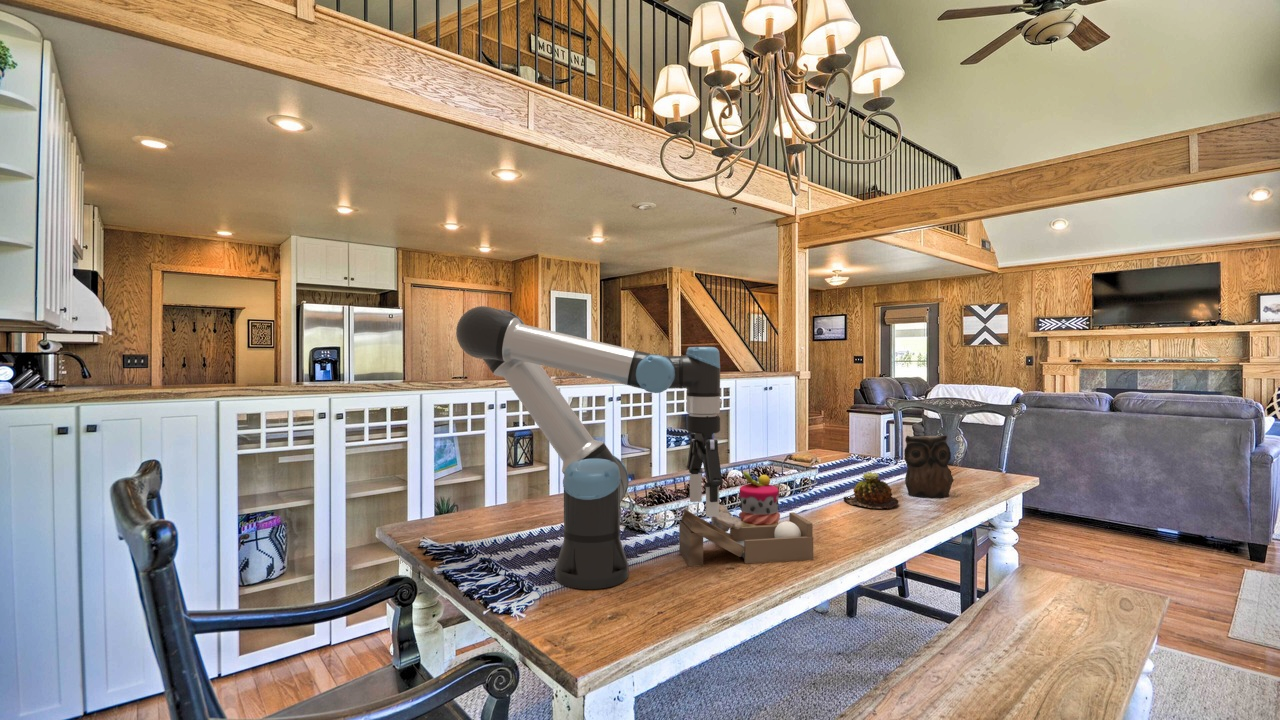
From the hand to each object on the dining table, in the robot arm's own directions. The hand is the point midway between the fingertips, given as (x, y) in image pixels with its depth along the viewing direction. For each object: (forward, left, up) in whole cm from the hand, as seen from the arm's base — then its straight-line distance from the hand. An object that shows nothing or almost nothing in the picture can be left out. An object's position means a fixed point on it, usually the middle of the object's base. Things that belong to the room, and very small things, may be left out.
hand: (703, 508), depth 136 cm
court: (+16, 0, -11) cm, 20 cm away
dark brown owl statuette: (+90, +47, -11) cm, 102 cm away
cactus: (+66, +41, -12) cm, 78 cm away
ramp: (+2, 0, -11) cm, 11 cm away
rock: (+9, +14, -12) cm, 20 cm away
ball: (+19, -3, -9) cm, 21 cm away
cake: (+21, +20, -11) cm, 31 cm away
